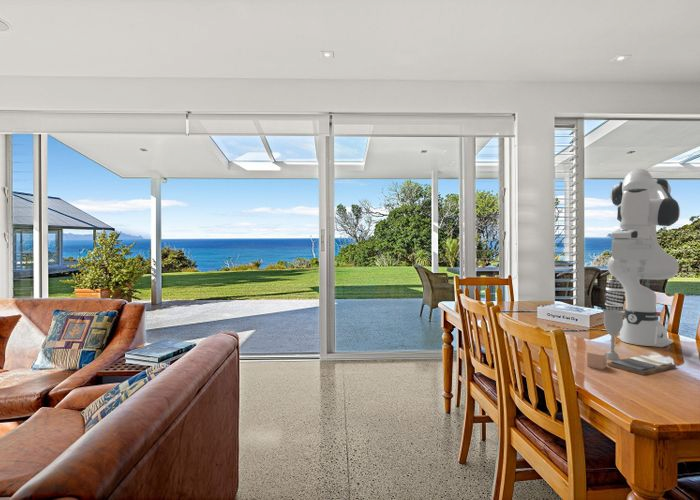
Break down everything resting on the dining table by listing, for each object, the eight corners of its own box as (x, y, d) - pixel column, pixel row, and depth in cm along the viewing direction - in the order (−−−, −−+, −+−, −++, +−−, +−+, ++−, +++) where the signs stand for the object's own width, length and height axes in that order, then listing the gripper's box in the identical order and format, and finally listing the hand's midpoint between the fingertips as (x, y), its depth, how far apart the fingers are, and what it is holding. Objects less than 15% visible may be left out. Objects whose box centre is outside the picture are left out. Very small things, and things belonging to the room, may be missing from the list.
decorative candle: (608, 329, 214) (609, 279, 213) (600, 325, 223) (601, 278, 223) (627, 330, 213) (629, 280, 212) (619, 326, 222) (620, 278, 221)
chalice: (620, 356, 164) (622, 310, 163) (625, 361, 157) (627, 313, 157) (599, 354, 166) (600, 309, 166) (603, 359, 160) (604, 311, 159)
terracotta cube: (590, 363, 155) (591, 350, 155) (606, 366, 151) (606, 352, 151) (587, 366, 151) (587, 352, 151) (602, 369, 148) (603, 355, 148)
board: (639, 358, 162) (639, 354, 161) (675, 367, 151) (675, 362, 151) (607, 365, 152) (607, 360, 152) (643, 375, 142) (643, 370, 142)
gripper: (642, 234, 158) (641, 271, 159) (608, 233, 149) (607, 272, 150) (660, 234, 153) (659, 272, 153) (626, 233, 144) (625, 274, 144)
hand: (633, 272), depth 151 cm, fingers open, 8 cm apart
